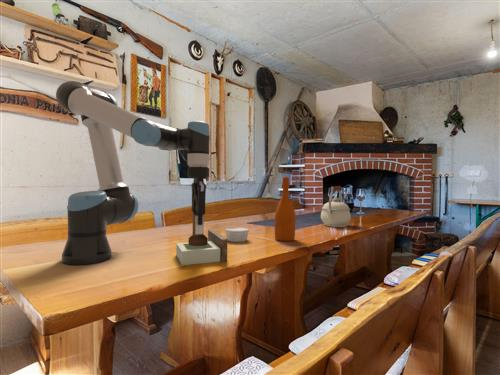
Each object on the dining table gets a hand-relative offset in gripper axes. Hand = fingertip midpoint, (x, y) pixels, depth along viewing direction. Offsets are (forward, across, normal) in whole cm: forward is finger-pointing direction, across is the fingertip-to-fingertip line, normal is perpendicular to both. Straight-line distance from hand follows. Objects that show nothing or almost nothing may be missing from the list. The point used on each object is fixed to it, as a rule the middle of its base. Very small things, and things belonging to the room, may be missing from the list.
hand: (198, 232), depth 104 cm
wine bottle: (+10, +21, -46) cm, 51 cm away
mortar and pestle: (+4, 0, 0) cm, 4 cm away
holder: (+9, 0, 0) cm, 9 cm away
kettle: (+10, +50, -97) cm, 110 cm away
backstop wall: (+9, +3, -8) cm, 13 cm away
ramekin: (+10, +27, -24) cm, 37 cm away
